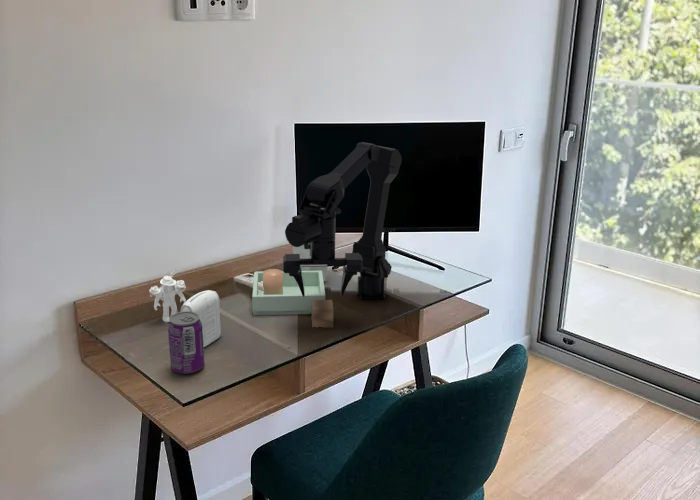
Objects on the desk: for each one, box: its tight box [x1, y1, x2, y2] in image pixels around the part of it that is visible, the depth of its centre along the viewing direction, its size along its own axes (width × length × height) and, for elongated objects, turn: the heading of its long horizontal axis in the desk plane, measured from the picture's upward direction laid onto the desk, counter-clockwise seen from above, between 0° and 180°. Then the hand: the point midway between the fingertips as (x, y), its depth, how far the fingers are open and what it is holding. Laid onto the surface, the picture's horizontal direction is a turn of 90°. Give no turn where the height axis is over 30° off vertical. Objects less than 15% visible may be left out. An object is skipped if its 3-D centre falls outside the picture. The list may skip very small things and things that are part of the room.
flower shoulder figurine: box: [148, 269, 187, 323], centre depth 176 cm, size 9×4×12 cm, turn 127°
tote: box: [251, 270, 326, 316], centre depth 189 cm, size 18×16×5 cm
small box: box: [292, 245, 328, 282], centre depth 201 cm, size 8×6×13 cm
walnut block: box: [311, 299, 334, 329], centre depth 177 cm, size 5×5×5 cm
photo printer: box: [180, 289, 222, 348], centre depth 165 cm, size 10×4×12 cm, turn 151°
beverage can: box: [167, 311, 205, 375], centre depth 155 cm, size 7×7×12 cm
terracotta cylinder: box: [263, 268, 283, 295], centre depth 188 cm, size 5×5×7 cm
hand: (322, 295), depth 176 cm, fingers open, 9 cm apart
